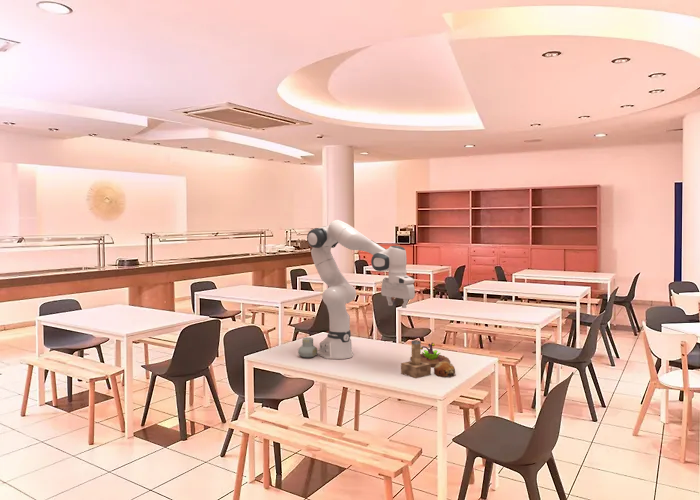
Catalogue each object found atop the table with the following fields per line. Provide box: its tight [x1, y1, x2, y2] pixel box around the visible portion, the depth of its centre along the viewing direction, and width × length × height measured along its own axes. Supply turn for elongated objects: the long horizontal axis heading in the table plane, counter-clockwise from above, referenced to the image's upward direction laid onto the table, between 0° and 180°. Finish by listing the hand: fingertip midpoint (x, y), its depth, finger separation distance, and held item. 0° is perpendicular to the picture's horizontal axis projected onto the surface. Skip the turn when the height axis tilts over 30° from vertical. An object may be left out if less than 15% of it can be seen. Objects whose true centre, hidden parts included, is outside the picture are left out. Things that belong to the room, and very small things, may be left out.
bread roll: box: [433, 361, 456, 378], centre depth 248 cm, size 10×10×8 cm
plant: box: [409, 342, 451, 369], centre depth 269 cm, size 20×20×11 cm
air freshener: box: [297, 337, 318, 359], centre depth 280 cm, size 11×8×10 cm
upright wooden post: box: [410, 339, 422, 365], centre depth 247 cm, size 3×3×16 cm
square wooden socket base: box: [400, 360, 432, 379], centre depth 248 cm, size 10×10×5 cm
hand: (397, 306), depth 255 cm, fingers open, 8 cm apart
